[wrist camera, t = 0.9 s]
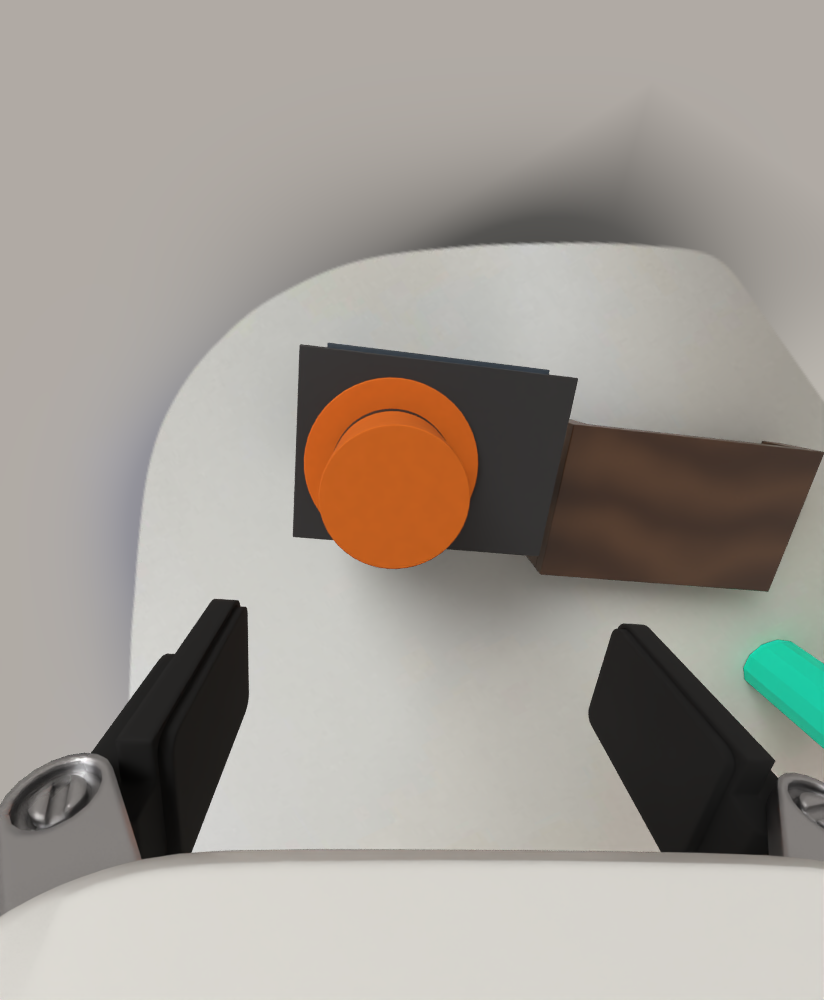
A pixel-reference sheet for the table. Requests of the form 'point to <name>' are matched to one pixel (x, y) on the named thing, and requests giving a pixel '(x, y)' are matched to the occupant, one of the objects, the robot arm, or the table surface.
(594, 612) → the table surface
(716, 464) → the stand
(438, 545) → the hat
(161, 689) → the robot arm
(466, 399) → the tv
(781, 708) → the candle
